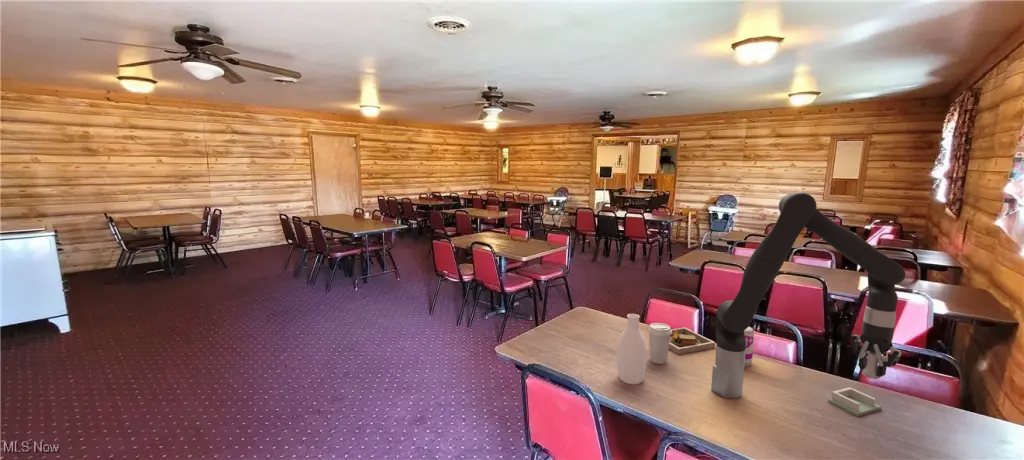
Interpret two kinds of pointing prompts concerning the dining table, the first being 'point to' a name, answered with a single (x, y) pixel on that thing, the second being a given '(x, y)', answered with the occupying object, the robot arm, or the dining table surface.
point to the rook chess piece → (871, 366)
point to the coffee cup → (659, 342)
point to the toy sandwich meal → (684, 340)
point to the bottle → (632, 352)
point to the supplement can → (749, 345)
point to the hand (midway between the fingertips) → (871, 372)
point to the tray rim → (693, 348)
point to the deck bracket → (854, 401)
